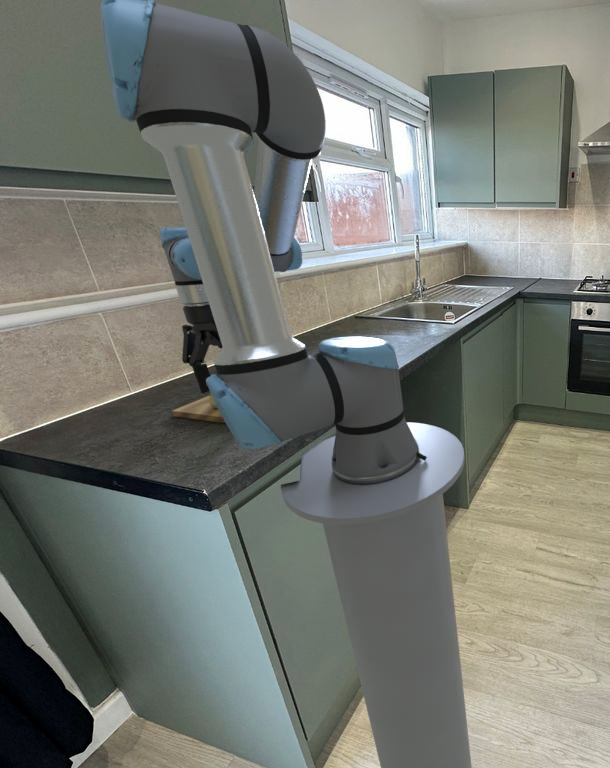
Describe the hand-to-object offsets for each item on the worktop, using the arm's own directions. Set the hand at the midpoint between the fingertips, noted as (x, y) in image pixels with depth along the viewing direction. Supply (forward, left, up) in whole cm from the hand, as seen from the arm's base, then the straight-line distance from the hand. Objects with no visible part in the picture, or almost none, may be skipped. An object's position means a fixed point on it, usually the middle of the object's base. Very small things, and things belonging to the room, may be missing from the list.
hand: (230, 393), depth 98 cm
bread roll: (0, 0, -3) cm, 3 cm away
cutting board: (0, 0, -4) cm, 4 cm away
